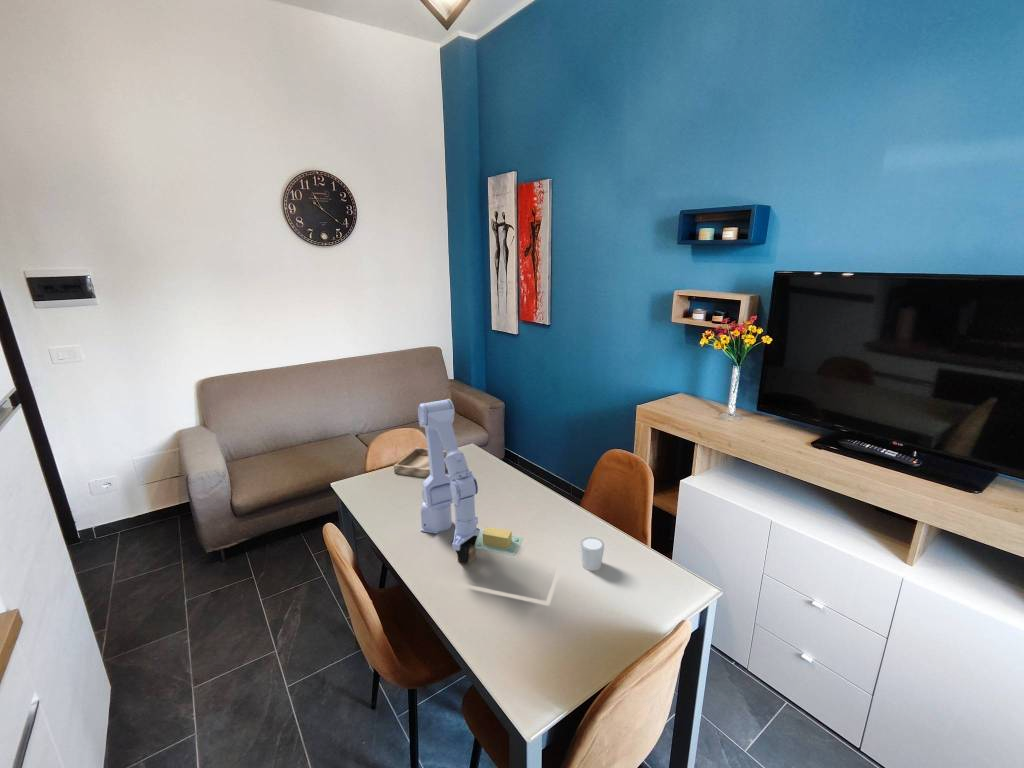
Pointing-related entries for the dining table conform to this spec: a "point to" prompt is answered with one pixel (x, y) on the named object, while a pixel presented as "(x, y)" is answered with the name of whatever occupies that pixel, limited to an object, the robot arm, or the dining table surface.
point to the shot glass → (591, 553)
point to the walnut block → (471, 554)
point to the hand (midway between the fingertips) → (466, 557)
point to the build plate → (511, 549)
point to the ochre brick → (497, 537)
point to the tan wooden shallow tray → (415, 463)
